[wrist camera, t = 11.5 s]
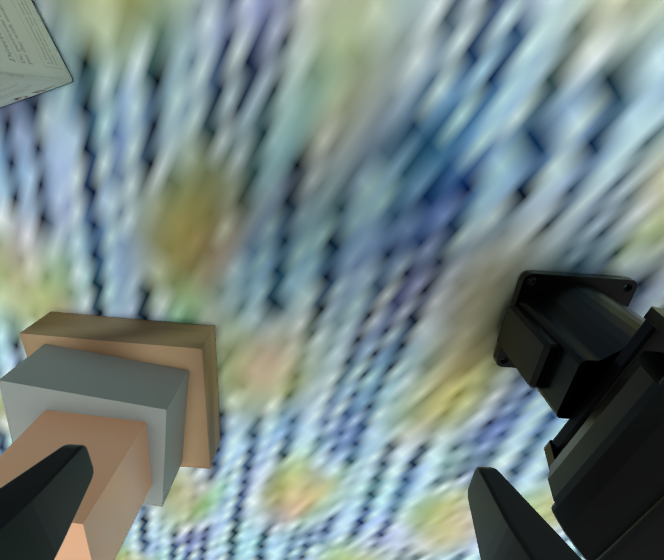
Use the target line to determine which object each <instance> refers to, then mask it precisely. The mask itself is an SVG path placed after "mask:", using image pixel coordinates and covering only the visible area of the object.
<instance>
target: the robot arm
mask: <svg viewBox="0 0 664 560" xmlns="http://www.w3.org/2000/svg"><path fill="white" fill-rule="evenodd" d="M530 278H533V279H532V281H531V282H528V283H527V281H528V279H530ZM625 285H627V286H626V287H625V288H624V286H625ZM636 288H637V283H636V282H635V281H634V280H632V279H630V278H627V277H617V276H602V275H587V274H573V273H558V272H544V271H526V272H524V273H523V274H522V275H521V277H520V279H519V282H518V285H517V288H516V291H515V294H514V297H513V300H512V303H511V305H510V306H509V307H508V309H507V312H506V316H505V319H504V322H503V325H502V328H501V331H500V334H499V337H498V345H497V349H496V352H495V355H494V360H495V362H496V363H497V365H499V366H501V367H513V368H517V369H518V371H519V372H520V374H521V375H522V376H523V378H524V379H525V381H526V382H527V384H528V385H529V386H530V387H531V388H535V389H538V391H539V392H540V393H541V395H542V396H543V397H544V399H545V400H546V402H547V403H548V404H549V406H550V407H551V408H552V410H553V411H554V413H555V414H556V415H557V417H559V418H566V419H569V420H568V421H567V423H566V424H565V425H564V427H563V428H562V429H561V430H560V432H559V433H558V434H557V436H556V437H555V438H554V440H550V441H549V442H548V443H547V445H546V446H545V447H544V450H545V454H546V458H547V462H548V466H549V476H548V481H549V485H550V489H551V492H552V496H553V499H554V502H555V503H554V504H553V505H552V511H553V514H554V516H555V517H556V519H557V521H558V523H559V524H560V526H561V528H562V529H563V531H564V533H565V535H566V536H567V537H568V539H569V540H570V541H571V543H572V544H573V545H574V547H575V548H576V549H577V551H578V552H579V553H580V554H581V555H582V557H583V558H584V559H585V560H664V309H661V308H657V307H653V306H652V307H651V308H650V310H649V311H648V312H647V314H646V315H645V316H644V318H645V319H644V318H643V317H641V316H639V315H638V314H636V313H635V312H633V311H632V310H630V309H629V308H627V307H628V305H629V303H630V301H631V299H632V297H633V295H634V293H635V291H636ZM503 357H505V358H504V359H503V360H501V359H502V358H503ZM93 473H94V468H93V464H92V461H91V458H90V455H89V452H88V449H87V447H86V446H84V445H77V444H67V445H64V446H62V447H60V448H59V449H57V450H56V451H54V452H53V453H51V454H50V455H48V456H47V457H45V458H44V459H42V460H41V461H39V462H38V463H36V464H35V465H33V466H32V467H31V468H29V469H28V470H26V471H25V472H23V473H22V474H20V475H19V476H17V477H16V478H14V479H13V480H11V481H10V482H8V483H7V484H5V485H4V486H2V487H1V488H0V560H54V559H55V557H56V556H57V554H58V552H59V549H60V547H61V545H62V543H63V541H64V539H65V537H66V535H67V533H68V530H69V528H70V526H71V524H72V522H73V520H74V517H75V515H76V513H77V511H78V509H79V507H80V504H81V502H82V500H83V498H84V496H85V493H86V491H87V489H88V487H89V485H90V483H91V480H92V478H93ZM468 500H469V505H470V510H471V515H472V519H473V524H474V529H475V534H476V538H477V543H478V548H479V553H480V557H481V560H582V559H581V558H580V557H579V556H578V555H577V554H576V553H575V552H574V551H573V550H572V549H571V548H570V547H569V546H568V545H567V543H566V542H565V541H564V540H563V539H562V538H561V537H560V536H559V535H558V534H557V533H556V532H555V531H554V530H553V529H552V528H551V526H550V525H549V524H548V523H547V522H546V521H545V520H544V519H543V518H542V517H541V516H540V515H539V514H538V513H537V512H536V511H535V509H534V508H533V507H532V506H531V505H530V504H529V503H528V502H527V501H526V500H525V499H524V498H523V497H522V496H521V495H520V494H519V492H518V491H517V490H516V489H515V488H514V487H513V486H512V485H511V484H510V483H509V482H508V481H507V480H506V479H505V478H504V477H503V475H502V474H501V473H500V472H499V471H498V470H496V469H495V468H492V467H477V468H476V469H475V472H474V474H473V477H472V480H471V483H470V485H469V488H468Z"/></svg>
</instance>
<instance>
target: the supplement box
mask: <svg viewBox="0 0 664 560" xmlns="http://www.w3.org/2000/svg"><path fill="white" fill-rule="evenodd" d="M70 82H72V78H71V76H70V74H69V72H68V70H67V68H66V66H65V64H64V63H63V61H62V59H61V57H60V55H59V53H58V51H57V49H56V47H55V45H54V43H53V41H52V39H51V37H50V35H49V34H48V32H47V30H46V28H45V26H44V24H43V22H42V20H41V18H40V16H39V15H38V13H37V11H36V9H35V7H34V5H33V3H32V1H31V0H0V107H3V106H6V105H9V104H12V103H14V102H17V101H20V100H23V99H26V98H29V97H32V96H34V95H37V94H40V93H43V92H46V91H48V90H51V89H53V88H57V87H60V86H62V85H65V84H68V83H70Z"/></svg>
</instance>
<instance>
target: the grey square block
mask: <svg viewBox="0 0 664 560" xmlns="http://www.w3.org/2000/svg"><path fill="white" fill-rule="evenodd" d="M188 377H189V370H184V369H178V368H173V367H167V366H162V365H157V364H151V363H146V362H141V361H135V360H130V359H125V358H119V357H114V356H109V355H103V354H98V353H93V352H87V351H82V350H76V349H71V348H66V347H60V346H55V345H50V344H44V345H43V346H41V347H40V348H39V349H37V350H36V351H35V352H34V353H32V354H31V355H30V356H29V357H27V358H26V359H25V360H24V361H22V362H21V363H20V364H19V365H17V366H16V367H15V368H13V369H12V370H11V371H10V372H8V373H7V374H6V375H5V376H3V377H2V378H1V379H0V389H1V393H2V398H3V402H4V407H5V411H6V416H7V421H8V425H9V430H10V434H11V439H12V443H14V442H15V441H16V439H17V438H18V437H19V436H20V435H21V434H22V433H23V432H24V431H25V430H26V429H27V428H28V427H29V426H30V425H31V424H32V423H33V422H34V421H35V420H36V419H37V418H38V417H39V416H40V415H41V414H42V413H43V412H44V411H45V410H51V411H59V412H68V413H76V414H84V415H93V416H101V417H110V418H118V419H126V420H135V421H143V422H146V426H147V436H148V446H149V457H150V467H151V478H152V486H151V488H150V490H149V492H148V494H147V496H146V498H145V500H144V502H143V504H148V505H154V506H161V507H162V506H163V504H164V502H165V499H166V497H167V495H168V493H169V490H170V488H171V486H172V484H173V481H174V479H175V477H176V475H177V472H178V470H179V468H180V465H181V463H182V456H183V443H184V430H185V417H186V404H187V390H188Z"/></svg>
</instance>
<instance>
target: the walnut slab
mask: <svg viewBox="0 0 664 560" xmlns="http://www.w3.org/2000/svg"><path fill="white" fill-rule="evenodd" d="M20 336H21V339H22V342H23V345H24V348H25V352H26V355H27V357H29V356H30V355H31V354H32V353H34V352H35V351H36V350H37V349H39V348H40V347H41V346H43V345H44V344H50V345H55V346H60V347H66V348H71V349H76V350H82V351H87V352H93V353H98V354H103V355H109V356H114V357H119V358H125V359H130V360H135V361H141V362H146V363H151V364H157V365H162V366H167V367H173V368H178V369H184V370H189V377H188V390H187V404H186V417H185V430H184V443H183V456H182V463H181V465H180V466H181V467H194V468H208V469H210V468H211V465H212V462H213V459H214V457H215V454H216V451H217V448H218V445H219V442H220V419H219V399H218V378H217V358H216V337H215V326H207V325H196V324H185V323H174V322H162V321H151V320H140V319H128V318H117V317H106V316H95V315H83V314H72V313H61V312H50V313H48V314H47V315H45V316H44V317H42V318H41V319H39V320H38V321H37V322H35V323H34V324H32V325H31V326H29V327H28V328H27V329H25V330H24V331H22V332H21V333H20Z"/></svg>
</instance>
